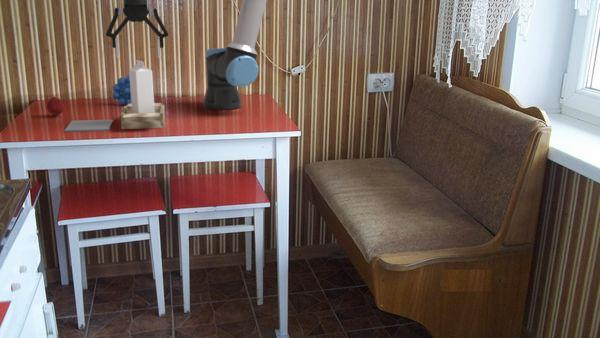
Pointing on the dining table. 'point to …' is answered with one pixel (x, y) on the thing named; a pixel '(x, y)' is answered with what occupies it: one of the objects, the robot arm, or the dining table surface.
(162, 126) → the crate
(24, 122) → the dining table surface
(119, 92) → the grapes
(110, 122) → the plate
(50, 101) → the onion
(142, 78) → the milk
